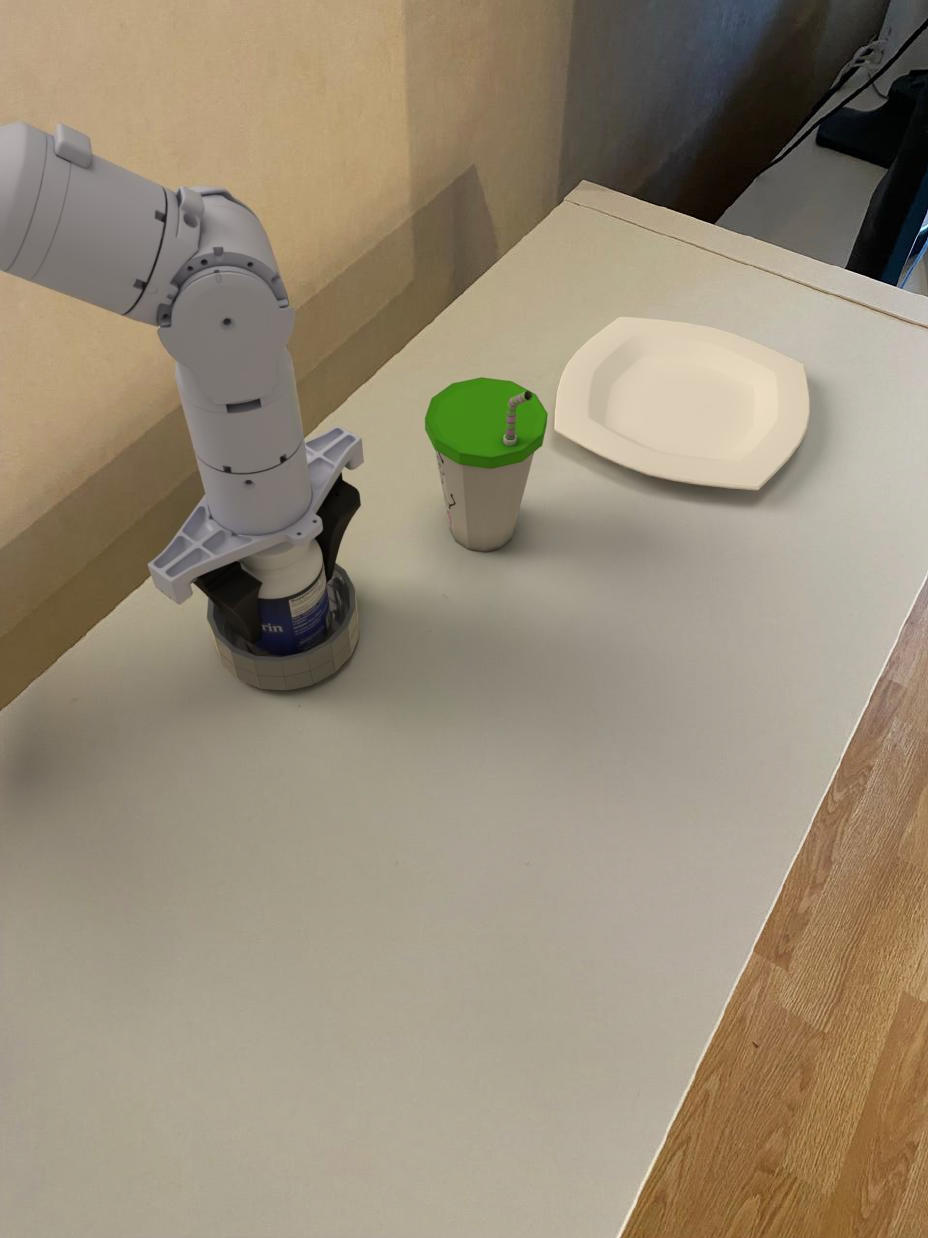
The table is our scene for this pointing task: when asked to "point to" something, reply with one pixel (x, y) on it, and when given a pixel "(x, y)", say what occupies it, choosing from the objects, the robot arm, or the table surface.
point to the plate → (684, 403)
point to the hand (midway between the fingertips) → (282, 603)
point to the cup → (484, 455)
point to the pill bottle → (290, 598)
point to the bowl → (298, 666)
